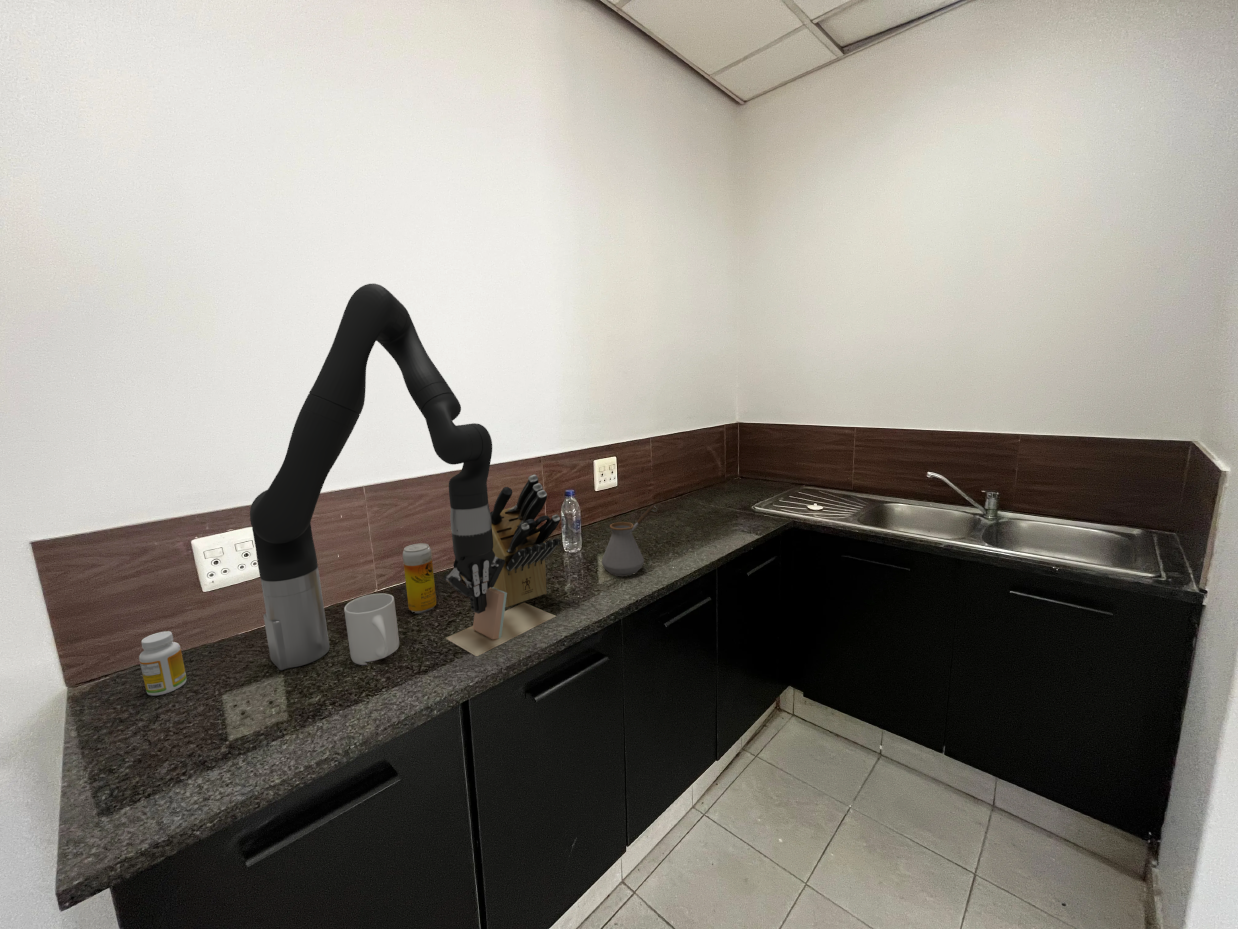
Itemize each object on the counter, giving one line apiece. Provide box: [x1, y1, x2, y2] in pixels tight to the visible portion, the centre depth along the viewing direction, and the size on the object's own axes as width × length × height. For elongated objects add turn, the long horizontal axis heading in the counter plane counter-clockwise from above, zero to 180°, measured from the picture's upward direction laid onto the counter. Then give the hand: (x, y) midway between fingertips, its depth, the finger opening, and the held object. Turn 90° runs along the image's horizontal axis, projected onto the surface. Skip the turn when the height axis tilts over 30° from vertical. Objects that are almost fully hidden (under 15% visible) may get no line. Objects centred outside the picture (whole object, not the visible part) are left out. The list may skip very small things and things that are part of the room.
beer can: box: [402, 543, 437, 614], centre depth 115 cm, size 6×6×15 cm
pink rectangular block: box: [472, 587, 507, 639], centre depth 101 cm, size 2×7×9 cm, turn 49°
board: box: [445, 602, 557, 657], centre depth 104 cm, size 20×11×1 cm, turn 139°
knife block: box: [460, 474, 562, 608], centre depth 120 cm, size 11×35×31 cm, turn 41°
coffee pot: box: [601, 504, 658, 577], centre depth 137 cm, size 21×12×15 cm, turn 142°
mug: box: [343, 592, 400, 666], centre depth 95 cm, size 9×12×11 cm
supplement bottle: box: [138, 630, 187, 696], centre depth 88 cm, size 5×5×10 cm
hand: (479, 611), depth 99 cm, fingers closed
